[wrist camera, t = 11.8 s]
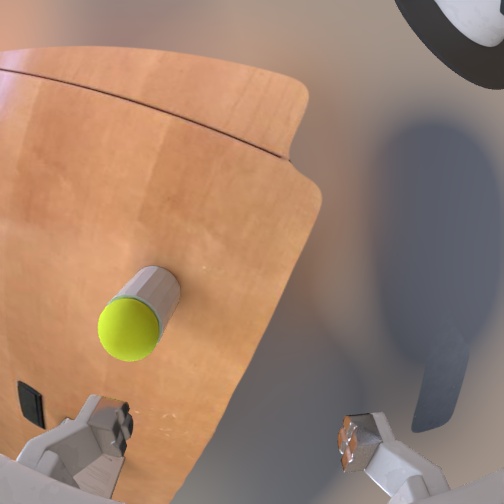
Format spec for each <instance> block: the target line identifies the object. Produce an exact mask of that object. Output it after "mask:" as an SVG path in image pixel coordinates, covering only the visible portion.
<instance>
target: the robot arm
mask: <svg viewBox="0 0 504 504" xmlns="http://www.w3.org/2000/svg"><path fill="white" fill-rule="evenodd" d="M434 1H435V2H436V3H437V4H438V6H439V7H440V9H441V10H442V12H443V13H444V14H445V16H446V17H447V18H448V19H449V21H450V22H451V23H452V24H453V25H454V26H455V27H456V28H457V29H458V30H459V31H460V32H461V33H463V34H464V35H465V36H466V37H468V38H469V39H471V40H472V41H474V42H476V43H478V44H480V45H483V46H487V47H493V46H496V45H498V44H499V43H500V42H501V41H502V40H503V39H504V0H434ZM129 409H130V408H129V405H128V403H127V402H124V401H120V400H116V399H112V398H108V397H104V396H99V395H95V394H91V395H90V396H89V397H88V398H87V400H86V402H85V403H84V405H83V407H82V408H81V410H80V412H79V414H78V415H77V417H76V419H75V420H69V421H67V422H65V423H64V424H61V425H59V426H57V427H55V428H53V429H51V430H49V431H47V432H45V433H43V434H41V435H39V436H37V437H35V438H33V439H31V440H28V442H27V443H26V445H25V447H24V448H23V450H22V451H21V453H20V455H19V456H18V458H17V459H16V461H14V460H12V459H11V458H9V457H7V456H5V455H3V454H1V453H0V504H127V503H123V502H119V501H116V500H112V499H109V498H105V497H102V496H99V495H96V494H93V493H90V492H87V491H84V490H81V489H80V487H79V485H78V484H77V483H76V481H75V480H74V478H73V476H75V475H76V474H77V473H79V472H80V471H82V470H83V469H84V468H86V467H87V466H88V465H90V464H91V463H92V462H94V461H95V460H96V459H98V458H99V457H100V456H102V455H103V454H106V455H110V456H114V457H119V458H123V455H124V453H125V450H126V448H127V444H126V442H125V441H126V440H128V439H129V438H130V437H131V434H132V431H133V419H132V416H131V415H130V414H129V413H128V411H129ZM343 425H344V427H342V428H341V429H340V430H339V433H338V440H337V442H338V449H339V452H341V453H342V454H343V457H342V459H341V462H342V466H343V470H344V472H345V473H346V472H356V471H365V472H366V473H367V474H368V475H369V476H370V477H371V478H372V479H373V480H374V481H375V482H376V483H377V484H378V485H379V486H380V487H381V488H382V489H383V490H384V491H386V493H387V494H388V495H390V496H391V497H392V498H391V499H390V501H389V502H388V503H387V504H504V468H502V469H500V470H498V471H496V472H493V473H491V474H489V475H487V476H485V477H482V478H480V479H478V480H475V481H473V482H471V483H468V484H465V485H463V486H460V487H458V488H455V489H452V490H451V489H450V487H449V485H448V483H447V480H446V478H445V476H444V474H443V472H442V469H441V468H440V467H439V466H437V465H436V464H434V463H432V462H431V461H429V460H428V459H426V458H425V457H423V456H422V455H420V454H419V453H417V452H416V451H414V450H413V449H411V448H410V447H408V446H407V445H405V444H404V443H402V442H401V441H396V439H395V437H394V435H393V432H392V430H391V428H390V426H389V423H388V421H387V418H386V416H385V414H384V413H383V412H377V413H367V414H357V415H346V416H345V417H344V420H343Z"/></svg>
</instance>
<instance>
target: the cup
mask: <svg viewBox="0 0 504 504" xmlns="http://www.w3.org/2000/svg"><path fill="white" fill-rule="evenodd" d="M180 296H181V290H180V286H179V283H178V281H177V279H176V278H175V277H174V276H173V274H171V273H170V272H169V271H168V270H166V269H164V268H162V267H158V266H148V267H145V268H142V269H141V270H139V271H138V272H137V273H136V274H135V275H134V276H133V277H132V279H131V280H130V281H129V282H128V283H127V284H126V285H125V286H124V287H123V288H122V289H121V290H120V291H119V292H118V293H117V294H116V295H115V296H114V297H113V299H112V300H111V301H110V302H109V303H108V304H107V306H108V305H109V304H110V303H112V302H113V301H116V300H118V299H122V298H131V299H136V300H139V301H141V302H143V303H144V304H146V305H147V306H148V307H149V308H150V309H151V310H152V311H153V312H154V314H155V316H156V318H157V320H158V324H159V339H158V342H159V341H160V339H161V337H162V335H163V333H164V331H165V329H166V327H167V325H168V323H169V321H170V319H171V317H172V315H173V313H174V311H175V309H176V307H177V305H178V303H179V300H180ZM158 342H157V343H158Z"/></svg>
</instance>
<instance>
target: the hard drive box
mask: <svg viewBox="0 0 504 504" xmlns="http://www.w3.org/2000/svg"><path fill="white" fill-rule="evenodd" d="M69 420H70V419H69V418H65V420H64V421H63V422H62V423H61V424H64V423H65V422H67V421H69ZM61 424H60V425H61ZM124 461H125V457H123V458H119V457H114V456H110V455H106V454H103V455H102V456H100V457H99V458H98V459H96V460H95V461H94V462H92V463H91V464H90V465H88V466H87V467H86V468H84V469H83V470H82V471H80V472H79V473H77V474H76V475H75V476H73V478H74V480H75V481H76V483H77V484H78V485H79V487H80V489H81V490H84V491H87V492H90V493H93V494H96V495H99V496H102V497H105V498H109V499H111V498H112V495H113V492H114V489H115V486H116V483H117V480H118V477H119V474H120V472H121V469H122V466H123V463H124Z"/></svg>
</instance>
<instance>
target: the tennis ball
mask: <svg viewBox="0 0 504 504" xmlns="http://www.w3.org/2000/svg"><path fill="white" fill-rule="evenodd" d="M98 335H99V339H100V341H101V343H102V345H103V347H104V348H105V349H106V351H107V352H108V353H109V354H111V355H112V356H114V357H115V358H117V359H120V360H123V361H137V360H140V359H143V358H144V357H146V356H147V355H149V354H150V353H151V352H152V351H153V349H154V348H155V346H156V344H157V342H158V339H159V324H158V320H157V318H156V316H155V314H154V312H153V311H152V310H151V309H150V308H149V307H148V306H147V305H146V304H144V303H143V302H141V301H139V300H136V299H131V298H122V299H118V300H116V301H113V302H112V303H110V304H109V305H108V306H107V307H106V308H105V309H104V310H103V312H102V313H101V315H100V318H99V321H98Z"/></svg>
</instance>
